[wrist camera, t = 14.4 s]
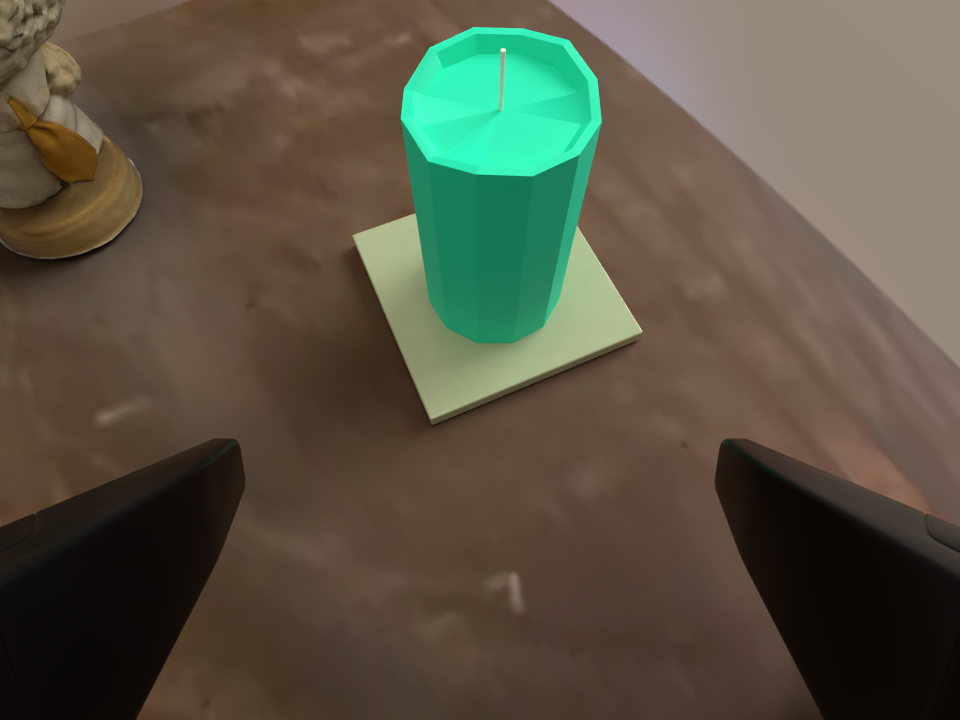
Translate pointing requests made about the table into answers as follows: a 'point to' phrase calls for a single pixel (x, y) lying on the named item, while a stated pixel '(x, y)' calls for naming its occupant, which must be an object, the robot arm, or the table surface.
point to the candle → (499, 174)
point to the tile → (488, 366)
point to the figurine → (53, 146)
